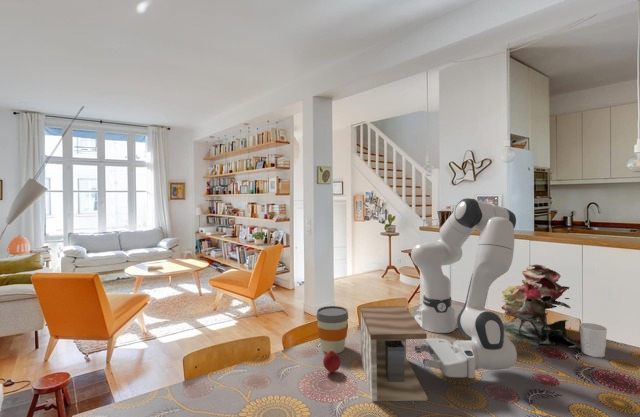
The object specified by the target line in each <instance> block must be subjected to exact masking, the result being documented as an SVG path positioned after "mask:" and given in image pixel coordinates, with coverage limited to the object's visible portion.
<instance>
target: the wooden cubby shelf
mask: <svg viewBox="0 0 640 417" xmlns="http://www.w3.org/2000/svg"><path fill="white" fill-rule="evenodd" d="M427 338H428V336H427V331H426V330H424V329H422V327H421V326H420V325H419V324H418V322H417V321H416V320H415V318H414V315H412V313H411V312H410V311H409V310H408V309H407V307H406V306H405V305H391V306H390V305H386V306H385V305H384V306H383V305H381V306H380V305H379V306H376V305H375V306H360V358H361V364H362V367H363V372H364V376H365V380H366V384H367V387H368V391H369V395H370V400H371V402H407V401H408V402H410V401H411V402H412V401H415V402H416V401H417V402H418V401H421V402H423V401H428V395H427V394H426V392H425V390H424V388H423V386H422V385H421V383H420V381H419V380H418V377H417V375H416V374H415V372H414V369H413V368H412V366H411V365H410V363H409V361H408V359H407V340H425V339H427ZM397 340H401V342H402V344H403V345H404V347H405V351H404V379H405V382H388V379H387V376H386V366H385V341H397Z"/></svg>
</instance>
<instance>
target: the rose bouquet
mask: <svg viewBox="0 0 640 417" xmlns="http://www.w3.org/2000/svg"><path fill="white" fill-rule="evenodd" d="M525 269H526V270H522V271H521V274H522V275H523V277H524V278H525V279H522V280H521V282H522V285H511V286H510V285H509V286H508V287H506V288H505V289H504V290H503V291H501V294H502V296H501V298H502V300H501V301H502V302H503V303H504V304H503V305H502V306H501V310H504V311H506V312H504V315H506V316H508V317H514V318H513V319H510V322H505V323H503V326H504V330H505V333H507V334H510V335H511V336H512V335H513V336H514V337H515V338H516V339H517V341H522V340H525V341H526V342H527V343H529V344H530V345H533V346H538V347H539V346H540V345H541V344H542V345H543V344H544V345H551V346H557V345H558V344H557V343H555V342H552V341H551V340H549V339H550V336H551V337H554V338H557V339H561V340H565V341H566V342H568V343H570V344H572V345H570V346H569V348H572V349H573V348H574V349H578V350H582V348H581V344H578V342H577V341H576V340H575V339H574V338H571V337H569V336H567V328H566V325H567V324H566V323H567V322H568V320H566V319H562V320H557V321H555V322H553V323H548V318H547V315H548V312H547V310H549V309H556V308H558V306H559V307H565V308H566V309H571V308H572V307H571V306H570V305H569V304H567V303H565V302H562V301H558V299H560V297H561V296H563V295H564V293H565V292H566V291H567V290H570V286H566V285H565V286H563V285H560V284H559V283H557V282H559V280H560V279H561V277H562V275H561V274H560V273H559V272H557V271H555V270H553V269H551V268H548V267H546V265H543V264H538V263H536V264H533V265H530V264H528V266H526V268H525ZM564 299H565V300H571V298H570V297H564ZM515 319H519V320H520V324H516V323H514V322H515ZM525 322H528V323H530V324H531V325H532V326H531V325H526V324H525ZM535 333H537V334H535ZM542 340H543V341H542Z"/></svg>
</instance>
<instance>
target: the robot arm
mask: <svg viewBox="0 0 640 417" xmlns="http://www.w3.org/2000/svg"><path fill="white" fill-rule="evenodd" d="M516 224H517V217H516V214H514V212H513V211H511V210H509V209H508V208H505V207H501V206H500V205H497V204H494V203H491V202H487V201H482V200H477V199H476V198H462V199H461V200H460V201H459V202H457V204H456V206H455V209H454V211H453V212H452V213H451V214H450V215H449V217H448V218H447V219H446V221H444V223H443V224H442V225H441V226H440V228H439V235H440V238H439V239H438V240H435V241H428V242H421V243H419V244H416V245H414V246H413V247H412V249H411V252H410V256H411V261H412V262H413V263H414V265H415V266H416V267H418V269H419V270H420V272H421V274H422V278H423V287H424V288H423V289H424V291H423V292H424V294H423V297H422V304H421V305H420V306H419V307H418V309H416V310H415V313H416V314H415V315H413V317H414V318H415V320H416V321H417V322H418V324H419V325H420V326H421V327H422V329H423V330H424V331H426V332H427V331H428V332H431V333H436V334H437V333H438V334H447V333H451V332H452V333H453V332H454V331H455V330H456V329H458V330H459V332H460V333H461V335H463V336H464V337H466V338H468V339H467V340H462V339H461V340H454V341H453V342H450V341H449V340H448V339H446V338H439V337H437V338H436V337H427V339H424V340H425V341H424V343H423V344H421V345H415V346H414V351H415V353H417V354H422V352H425V353H428V354H429V356H430V357H431V358H432V359H430V358H423V359H422V364H423V366H424V367H425V368H427V367H428V368H429V367H430V368H433V369H437V370H440V371H441V372H442V373H443V375H444V376H446V377H449V378H469V379H475V377H476V371H478V370H481V369H482V370H487V371H499V370H506V369H509V368H512V367H513V366H514V365H515V364H516V361H517V358H518V355H517V354H518V353H517V348H516V346H515V344H514V343H513V342H512V341H511V340H510V338H509V337H508V335H507V332H506V331H505V330H504V326H503V324H504V322H503V320H502V319H501V318H500V316H499V315H498V314H496V313H494V312H492V311H488V310H485V308H486V303H487V298H488V295H489V294H488V293H489V289H490V287H491V286H492V285H493V283H494V282H495V281H496V280H497V279H498V278H500V277H502V276H503V275H505V274H506V273H507V272H508V271H509V269H510V268H511V265H512V263H513V258H514V251H515V228H516ZM475 231H477V232H479V237H478V243H477V250H476V255H475V261H474V267H473V270H472V273H471V277H470V281H469V286H468V290H467V294H466V297H465V298H466V299H465V303H464V306H463V308H462V309H461V310H460V312H459V313H458V315H457V318H456V312H455V309H454V307H452V301H453V300H452V297H451V280H450V279H449V277H448V276H447V275H445V274H444V273H443V269H442V266H447V265H448V266H449V265H453V264H455V263H457V262H459V261H460V260H461V258H462V257H463V250H462V246H464V243H465V242H466V241H467V240H468V239H469V237H471V235H472V234H473V233H474V232H475ZM469 339H470V340H469Z"/></svg>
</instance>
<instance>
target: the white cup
mask: <svg viewBox="0 0 640 417" xmlns="http://www.w3.org/2000/svg"><path fill="white" fill-rule="evenodd" d="M607 329H608V328H607V327H605V326H603V325H601V324H597V323H593V322H592V323H591V322H582V323H579V337H580V346H581V348H582V349H581V352H582V353H583V354H584V355H587V356H589V357H593V358H604V357H605V356H606V355H605V354H606V348H607V347H606V346H607V332H608V330H607Z"/></svg>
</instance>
